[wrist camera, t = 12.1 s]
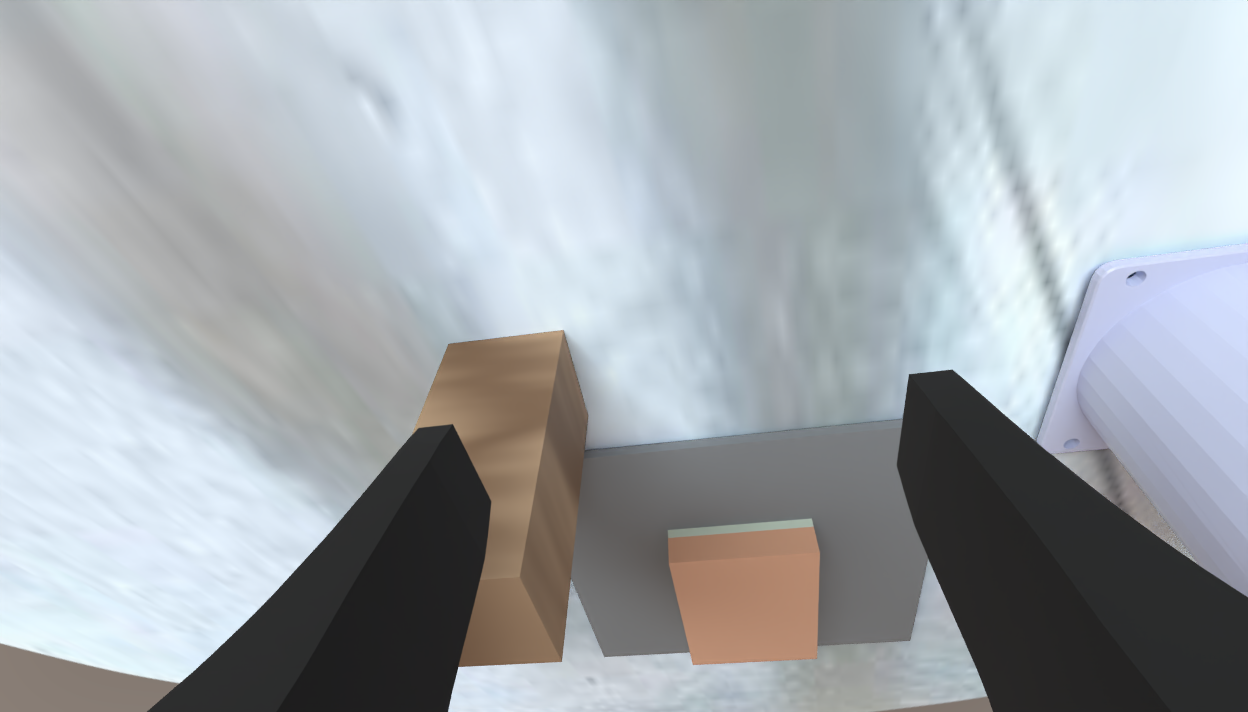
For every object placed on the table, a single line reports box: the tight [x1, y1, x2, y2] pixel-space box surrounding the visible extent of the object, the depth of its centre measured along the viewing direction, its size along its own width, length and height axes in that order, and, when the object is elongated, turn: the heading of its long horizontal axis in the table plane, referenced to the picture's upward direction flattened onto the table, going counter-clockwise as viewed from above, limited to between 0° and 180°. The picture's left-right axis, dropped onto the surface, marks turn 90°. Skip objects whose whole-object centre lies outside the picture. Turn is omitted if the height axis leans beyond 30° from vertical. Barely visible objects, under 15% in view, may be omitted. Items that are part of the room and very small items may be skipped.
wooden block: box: [412, 330, 588, 667], centre depth 19 cm, size 4×4×9 cm
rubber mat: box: [571, 419, 928, 657], centre depth 28 cm, size 16×16×1 cm
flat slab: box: [668, 518, 820, 665], centre depth 28 cm, size 6×2×9 cm
